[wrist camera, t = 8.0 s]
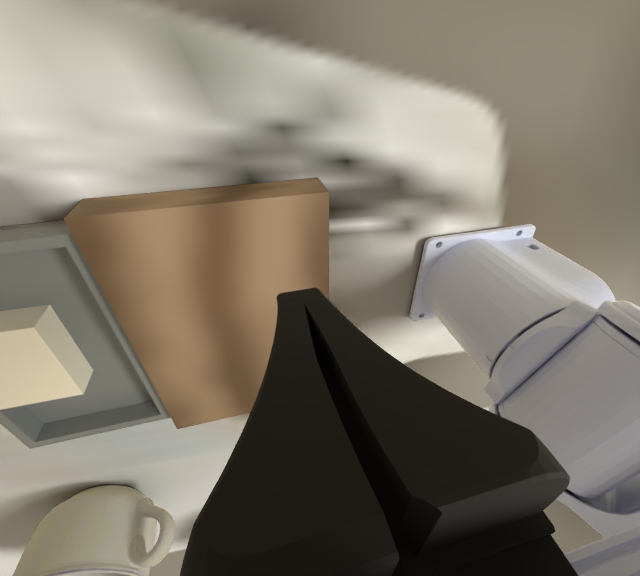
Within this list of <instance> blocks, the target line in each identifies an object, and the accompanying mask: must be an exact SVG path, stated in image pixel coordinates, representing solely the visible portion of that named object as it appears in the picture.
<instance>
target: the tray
mask: <svg viewBox="0 0 640 576" xmlns="http://www.w3.org/2000/svg"><path fill="white" fill-rule="evenodd" d="M43 305H51V307H52V308H53V310H54V311H55V313H56V315H57V316H58V318H59V319H60V321H61V322H62V324H63V325H64V327H65V328H66V330H67V331H68V333H69V334H70V336H71V337H72V339H73V340H74V342H75V343H76V345H77V346H78V348H79V349H80V351H81V352H82V354H83V355H84V357H85V358H86V360H87V361H88V363H89V364H90V366H91V367H92V369H93V372H92V375H91V377H90V380H89V382H88V385H87V387H86V389H85V392H84V394H82V395H76V396H71V397H66V398H60V399H55V400H50V401H44V402H39V403H34V404H28V405H23V406H18V407H12V408H7V409H2V410H0V423H1V424H2V425H3V426H4V427H5V428H7V429H8V430H9V431H10V432H11V433H12V434H14V435H15V436H16V437H17V438H18V439H19V440H20V441H22V442H23V443H24V444H25V445H26V446H27V447H29V448H35V447H39V446H44V445H48V444H53V443H57V442H62V441H66V440H71V439H75V438H80V437H84V436H89V435H93V434H98V433H102V432H107V431H111V430H116V429H120V428H125V427H129V426H134V425H138V424H143V423H147V422H152V421H156V420H161V419H165V418H170V417H171V416H170V415H169V413H168V411H167V409H166V407H165V405H164V404H163V402H162V400H161V398H160V396H159V394H158V392H157V391H156V389H155V387H154V385H153V383H152V381H151V379H150V378H149V376H148V374H147V372H146V370H145V368H144V367H143V365H142V363H141V361H140V359H139V357H138V355H137V354H136V352H135V350H134V348H133V346H132V344H131V342H130V341H129V339H128V337H127V335H126V333H125V331H124V330H123V328H122V326H121V324H120V322H119V320H118V318H117V317H116V315H115V313H114V311H113V309H112V307H111V306H110V304H109V302H108V300H107V298H106V296H105V294H104V293H103V291H102V289H101V287H100V285H99V283H98V281H97V280H96V278H95V276H94V274H93V272H92V270H91V269H90V267H89V265H88V263H87V261H86V259H85V257H84V256H83V254H82V252H81V250H80V248H79V246H78V244H77V243H76V241H75V239H74V237H73V235H72V233H71V232H70V230H69V228H68V226H67V224H66V222H65V220H60V221H51V222H41V223H31V224H21V225H11V226H1V227H0V311H5V310H13V309H20V308H28V307H35V306H43Z"/></svg>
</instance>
